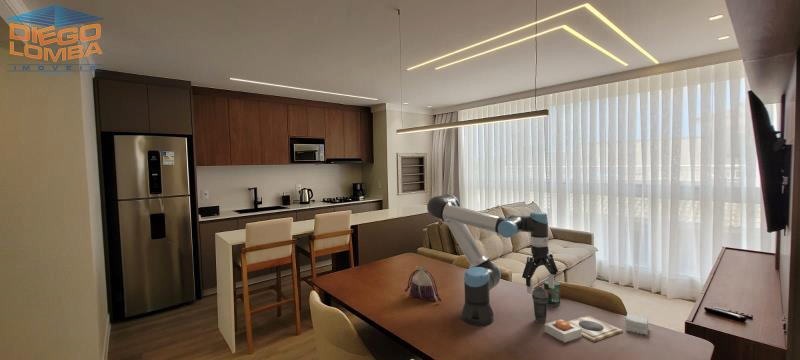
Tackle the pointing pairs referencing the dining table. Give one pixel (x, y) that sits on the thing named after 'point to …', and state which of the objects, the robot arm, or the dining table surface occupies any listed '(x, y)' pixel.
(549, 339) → the dining table surface
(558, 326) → the button
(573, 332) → the button housing
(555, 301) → the canned tomato
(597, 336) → the beige flat square slab
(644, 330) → the small box
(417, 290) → the pouch
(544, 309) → the beverage cup
